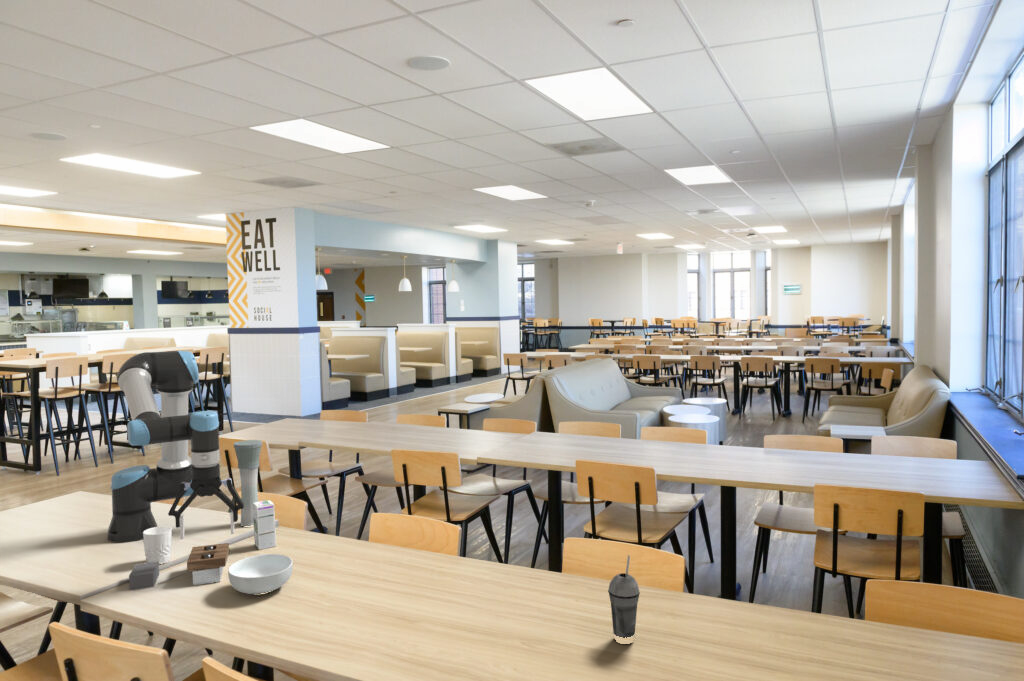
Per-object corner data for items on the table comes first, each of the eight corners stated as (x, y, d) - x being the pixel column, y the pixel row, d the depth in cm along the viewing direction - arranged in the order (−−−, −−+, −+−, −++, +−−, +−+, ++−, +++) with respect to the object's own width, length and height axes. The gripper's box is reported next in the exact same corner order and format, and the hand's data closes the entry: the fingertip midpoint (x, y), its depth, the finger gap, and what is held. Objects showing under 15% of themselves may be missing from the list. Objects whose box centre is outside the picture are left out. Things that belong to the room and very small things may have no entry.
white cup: (178, 557, 210) (177, 526, 209) (162, 567, 202) (161, 534, 201) (154, 556, 210) (153, 525, 210) (138, 566, 203) (137, 534, 202)
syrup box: (276, 546, 218) (275, 503, 218) (257, 550, 215) (256, 506, 214) (272, 541, 223) (270, 499, 222) (253, 545, 220) (252, 502, 219)
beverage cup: (605, 633, 158) (604, 550, 157) (635, 631, 159) (635, 549, 158) (612, 648, 151) (612, 562, 150) (643, 647, 151) (643, 561, 150)
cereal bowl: (215, 597, 180) (214, 572, 180) (258, 574, 196) (257, 550, 195) (265, 606, 174) (264, 580, 174) (305, 581, 190) (305, 557, 190)
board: (193, 555, 200) (192, 547, 200) (228, 550, 204) (228, 542, 204) (187, 571, 188) (186, 562, 188) (225, 566, 191) (225, 557, 191)
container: (240, 520, 246) (238, 440, 244) (267, 519, 247) (265, 439, 245) (232, 529, 236) (230, 445, 235) (260, 527, 237) (258, 444, 236)
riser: (136, 577, 194) (135, 564, 194) (159, 574, 196) (158, 561, 196) (129, 589, 185) (129, 575, 185) (153, 586, 187) (153, 572, 187)
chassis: (199, 566, 202) (198, 543, 202) (224, 563, 204) (223, 540, 204) (193, 585, 188) (192, 561, 188) (219, 581, 190) (219, 558, 190)
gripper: (155, 471, 187) (158, 544, 188) (250, 464, 195) (252, 534, 196) (160, 464, 194) (162, 535, 195) (251, 458, 202) (253, 526, 204)
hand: (207, 535), depth 196 cm, fingers open, 13 cm apart
